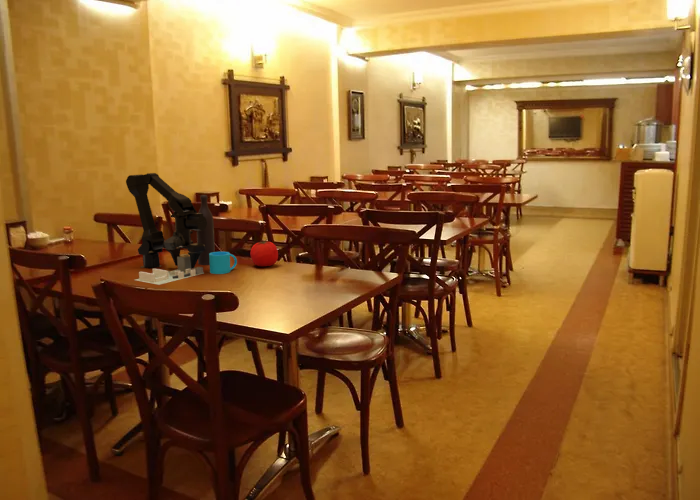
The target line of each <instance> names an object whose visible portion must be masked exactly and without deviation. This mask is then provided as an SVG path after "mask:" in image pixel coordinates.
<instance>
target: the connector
mask: <svg viewBox="0 0 700 500" xmlns="http://www.w3.org/2000/svg"><path fill="white" fill-rule="evenodd" d="M177 264H178V266H177V270H178V271H181V272H186V271H185V269H191V270H193V268H191V261H190V255H189V254H188V253H180V256H178V257H177Z"/></svg>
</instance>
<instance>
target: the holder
mask: <svg viewBox="0 0 700 500" xmlns="http://www.w3.org/2000/svg"><path fill="white" fill-rule="evenodd" d="M168 272H169V270H165V269H160V268H152V272H151V273H150V272H146V271H139V272H138V276H139V277H138V279H139V280H144V281H149V282H158V281H162V280H166V279H169V273H168ZM155 277H158V278H155Z"/></svg>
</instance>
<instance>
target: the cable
mask: <svg viewBox="0 0 700 500" xmlns="http://www.w3.org/2000/svg"><path fill="white" fill-rule="evenodd" d="M188 276H190V273H188V274H184V277H188ZM176 278H178V275H177V276H173V279H176ZM188 278H189V277H188Z"/></svg>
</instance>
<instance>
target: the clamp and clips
mask: <svg viewBox="0 0 700 500" xmlns="http://www.w3.org/2000/svg"><path fill="white" fill-rule="evenodd" d="M185 271H186V274H188V273H190V276H192V277H194V276H195V277H196V276H199V275H202V273H203V274H204V267H202V266H195V267H194V268H192V270H191V269H185ZM196 274H197V275H196ZM198 274H199V275H198ZM177 275H178V279H180V280H182V279H181V278H184V272H181V271H175V276H177ZM184 279H185V278H184Z"/></svg>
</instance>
